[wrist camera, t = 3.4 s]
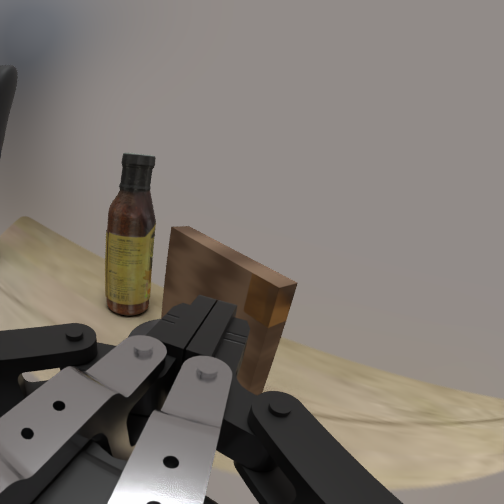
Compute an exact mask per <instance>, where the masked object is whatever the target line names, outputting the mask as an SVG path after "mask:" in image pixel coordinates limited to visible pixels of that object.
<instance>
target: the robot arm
mask: <svg viewBox="0 0 504 504" xmlns="http://www.w3.org/2000/svg"><path fill="white" fill-rule="evenodd" d="M16 86H17V70H16V68H15V67H14V66H12V65H2V66H0V157H1V150H2V146H3V141H4V136H5V130H6V125H7V121H8V116H9V113H10V109H11V105H12V102H13V98H14V94H15V90H16ZM236 312H237V305H235V304H232V303H228V302H224V301H221V300H217V299H213V298H210V297H206V296H202V295H198V296H197V298H196V299H195V300H194V301H193V302H192V303H191V305H189V304H186V303H181V304H179V305H176V306H173V307H172V308H171V309H170V310H169V311H168V312H167V314H165V315H164V316H163V317H162V319H161V320H160V321H159V322H158V323H157V324H156V325H155V326H154V327H153V328H152V329H151V330H150V331H149V332H148V333H147V334H146V335H145V336H144V335H137V336H131V337H129V338H126V339H125V340H123V341H122V342H121V343H120V344H119V345H117V346H113V345H108V344H103V343H97V340H96V333H95V331H94V330H93V329H92V328H90V327H89V326H87V325H84V324H79V323H70V324H62V325H53V326H44V327H35V328H26V329H16V330H5V331H0V504H218V503H216V502H215V501H213V500H212V499H210V498H209V497H207V496H205V494H206V490H207V485H208V481H209V477H210V473H211V468H212V464H213V460H214V455H215V451H216V450H217V451H218V452H220V453H222V454H224V455H225V456H227V457H229V458H231V459H232V460H234V466H235V468H236V470H237V471H238V473H239V474H240V476H241V477H242V479H243V480H244V482H245V483H246V485H247V486H248V488H249V489H250V491H251V492H252V494H253V495H254V497H255V498H256V499H257V501H258V502H259V504H403V503H401V501H400V500H399V499H397V498H396V497H395V496H394V495H393V494H392V493H391V492H390V491H389V490H387V489H386V488H385V487H384V486H383V485H382V484H381V483H380V482H379V481H378V480H377V479H375V478H374V477H373V476H372V475H371V474H370V473H369V472H368V471H367V470H366V469H365V468H364V467H363V466H362V465H361V464H360V463H359V462H358V461H357V460H356V459H355V458H354V457H353V456H352V455H351V454H350V453H349V452H348V451H347V450H346V449H345V448H344V447H343V446H342V445H341V444H340V443H339V442H338V441H337V440H336V439H335V438H334V437H333V436H332V435H331V434H330V433H329V432H328V431H327V430H326V429H325V428H324V427H323V426H322V425H321V424H320V423H319V422H318V420H317V419H316V418H315V417H314V416H313V415H312V414H311V413H310V412H309V411H308V410H307V409H306V408H305V407H304V405H303V404H302V403H301V402H300V401H299V400H298V399H296V398H295V397H293V396H291V395H289V394H287V393H283V392H279V391H268V392H264V393H261V394H259V395H258V396H257V395H255V394H253V393H251V392H250V391H248V390H246V389H245V388H244V387H243V386H242V385H241V384H240V383H239V382H238V380H237V376H238V373H239V369H240V367H241V364H242V361H243V357H244V352H245V348H246V344H247V340H248V336H249V332H250V327H249V324H248V322H247V321H246V320H242V319H239V318H235V316H236ZM53 368H60V372H59V373H57V374H56V375H55V376H54V377H52V378H51V379H50V380H46V381H39V382H28V381H26V380H25V379H24V378H23V376H22V373H24V372H31V371H39V370H46V369H53Z"/></svg>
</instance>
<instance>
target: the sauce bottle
mask: <svg viewBox="0 0 504 504" xmlns="http://www.w3.org/2000/svg"><path fill="white" fill-rule="evenodd" d="M122 166H123V169H122V176H121V183H120V186H119V187H120V191H119V193H118V195H117V196H116V198H115V199H114V200H113V202H112V204H111V205H110V208H109V213H108V227H107V230H106V255H105V292H106V297H107V305H108V307H109V309H111V310H112V311H113V312H116V313H118V314H121V315H127V316H129V315H136V314H140V313H143V312H144V311H146V309H147V308H148V304H149V298H150V288H151V271H152V256H153V245H154V236H155V225H156V220H155V215H154V210H153V205H152V199H151V193H150V183H151V175H152V169H153V168H154V166H155V156H152V155H144V154H135V153H124V154H123V158H122Z"/></svg>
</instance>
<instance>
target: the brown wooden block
mask: <svg viewBox="0 0 504 504" xmlns="http://www.w3.org/2000/svg"><path fill="white" fill-rule="evenodd" d="M296 286H297V282H295V281H293V280H291V279H289V278H287V277H285V276H283V275H281V274H279V273H277V272H276V271H273V270H272V269H270V268H268V267H266V266H264V265H262V264H260V263H258V262H256V261H254V260H252V259H250V258H248V257H247V256H245V255H243V254H241V253H239V252H237V251H235V250H233V249H231V248H229V247H227V246H225V245H224V244H222V243H220V242H218V241H216V240H214V239H212V238H210V237H208V236H206V235H205V234H203V233H201V232H199V231H197V230H195V229H193V228H191V227H189V226H185V227H171V234H170V241H169V249H168V257H167V265H166V274H165V284H164V293H163V304H162V316H161V319H162V317H163V316H164V315H165V314H167V312H168V311H169V310H170V309H171V308H172V307H173V306H176V305H179V304H181V303H186V304H189V305H191V303H192V302H193V301H194V300H195V299H196V298H197V296H198V295H202V296H206V297H210V298H213V299H217V300H221V301H224V302H228V303H232V304H235V305H237V312H236V316H235V318H239V319H242V320H246V321H247V322H248V324H249V327H250V332H249V336H248V340H247V344H246V348H245V352H244V357H243V361H242V364H241V367H240V369H239V373H238V376H237V380H238V382H239V383H240V384H241V385H242V386H243V387H244V388H245V389H246V390H248V391H250V392H251V393H253V394H255V395H257V396H258V395H259V394H261V393H262V391H263V388H264V386H265V383H266V380H267V377H268V374H269V371H270V368H271V365H272V362H273V359H274V356H275V353H276V350H277V347H278V344H279V341H280V338H281V335H282V332H283V329H284V325H285V322H286V319H287V316H288V312H289V309H290V306H291V303H292V300H293V296H294V293H295V289H296Z"/></svg>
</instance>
